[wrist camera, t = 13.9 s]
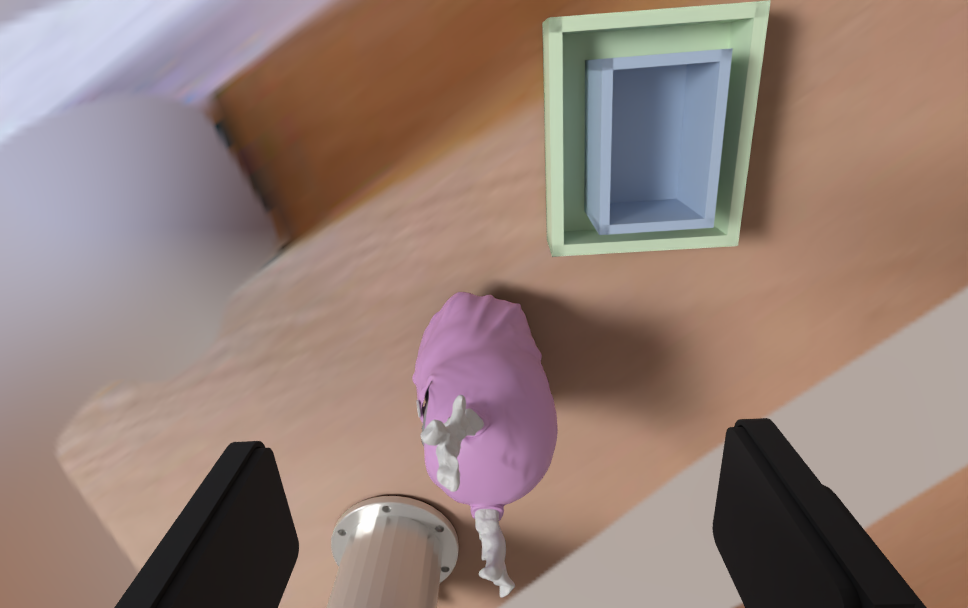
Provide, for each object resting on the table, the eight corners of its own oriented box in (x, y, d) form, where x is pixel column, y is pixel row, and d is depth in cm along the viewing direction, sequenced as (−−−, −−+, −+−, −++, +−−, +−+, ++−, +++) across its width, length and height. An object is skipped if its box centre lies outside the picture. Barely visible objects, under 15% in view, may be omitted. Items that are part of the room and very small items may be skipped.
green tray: (715, 229, 40) (737, 245, 36) (546, 239, 40) (552, 256, 37) (740, 7, 34) (770, 0, 30) (542, 23, 34) (548, 17, 31)
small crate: (682, 204, 38) (713, 227, 33) (584, 211, 38) (599, 235, 33) (694, 51, 34) (732, 48, 29) (584, 60, 34) (602, 58, 29)
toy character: (406, 282, 42) (339, 449, 24) (536, 269, 41) (571, 430, 23) (430, 409, 47) (389, 628, 29) (546, 399, 46) (582, 617, 28)
